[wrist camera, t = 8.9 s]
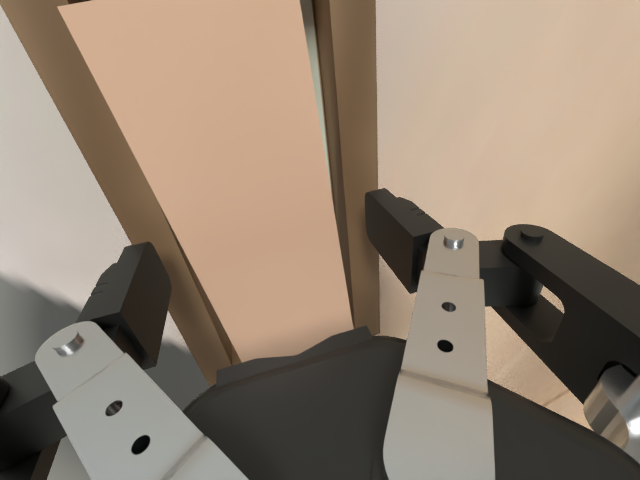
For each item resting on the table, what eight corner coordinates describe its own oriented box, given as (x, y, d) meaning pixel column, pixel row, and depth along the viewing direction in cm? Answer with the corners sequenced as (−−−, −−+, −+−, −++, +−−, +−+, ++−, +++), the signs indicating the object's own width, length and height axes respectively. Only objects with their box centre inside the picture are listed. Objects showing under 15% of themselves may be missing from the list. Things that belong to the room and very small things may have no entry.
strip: (259, 3, 10) (293, -36, 6) (325, 297, 18) (363, 389, 13) (138, 26, 10) (56, 6, 5) (259, 318, 18) (273, 423, 13)
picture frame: (340, -67, 11) (374, -99, 9) (361, 299, 21) (379, 333, 18) (28, -39, 9) (-41, -70, 7) (211, 342, 19) (209, 385, 17)
